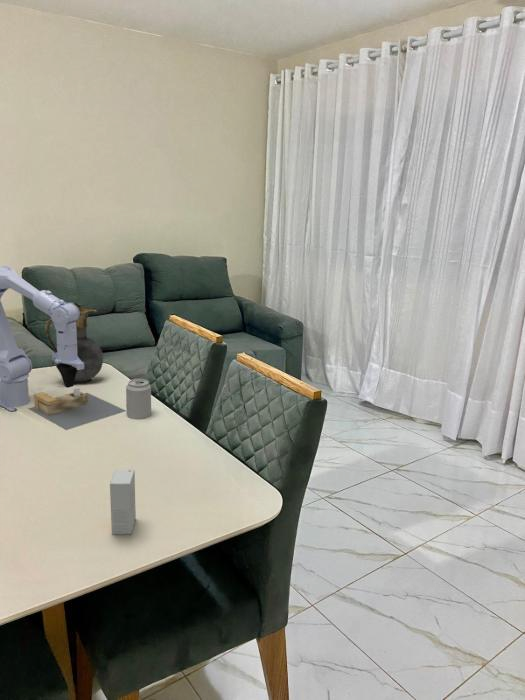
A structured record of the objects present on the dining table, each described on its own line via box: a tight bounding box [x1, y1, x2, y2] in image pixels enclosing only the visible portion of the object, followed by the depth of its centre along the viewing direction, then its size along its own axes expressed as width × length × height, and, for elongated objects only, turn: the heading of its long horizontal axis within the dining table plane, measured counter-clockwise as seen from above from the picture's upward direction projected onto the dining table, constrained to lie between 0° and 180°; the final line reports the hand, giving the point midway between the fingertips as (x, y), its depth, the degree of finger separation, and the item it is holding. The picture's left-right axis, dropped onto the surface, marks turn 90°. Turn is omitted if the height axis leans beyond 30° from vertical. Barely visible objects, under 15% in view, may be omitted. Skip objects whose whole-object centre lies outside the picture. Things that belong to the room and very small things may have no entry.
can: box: [125, 378, 152, 420], centre depth 168 cm, size 8×8×12 cm
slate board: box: [28, 388, 127, 431], centre depth 170 cm, size 22×21×6 cm
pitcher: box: [44, 302, 104, 386], centre depth 192 cm, size 11×19×30 cm, turn 107°
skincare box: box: [109, 468, 137, 536], centre depth 113 cm, size 6×4×12 cm
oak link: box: [39, 391, 88, 416], centre depth 171 cm, size 14×5×3 cm, turn 141°
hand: (69, 386), depth 166 cm, fingers closed
